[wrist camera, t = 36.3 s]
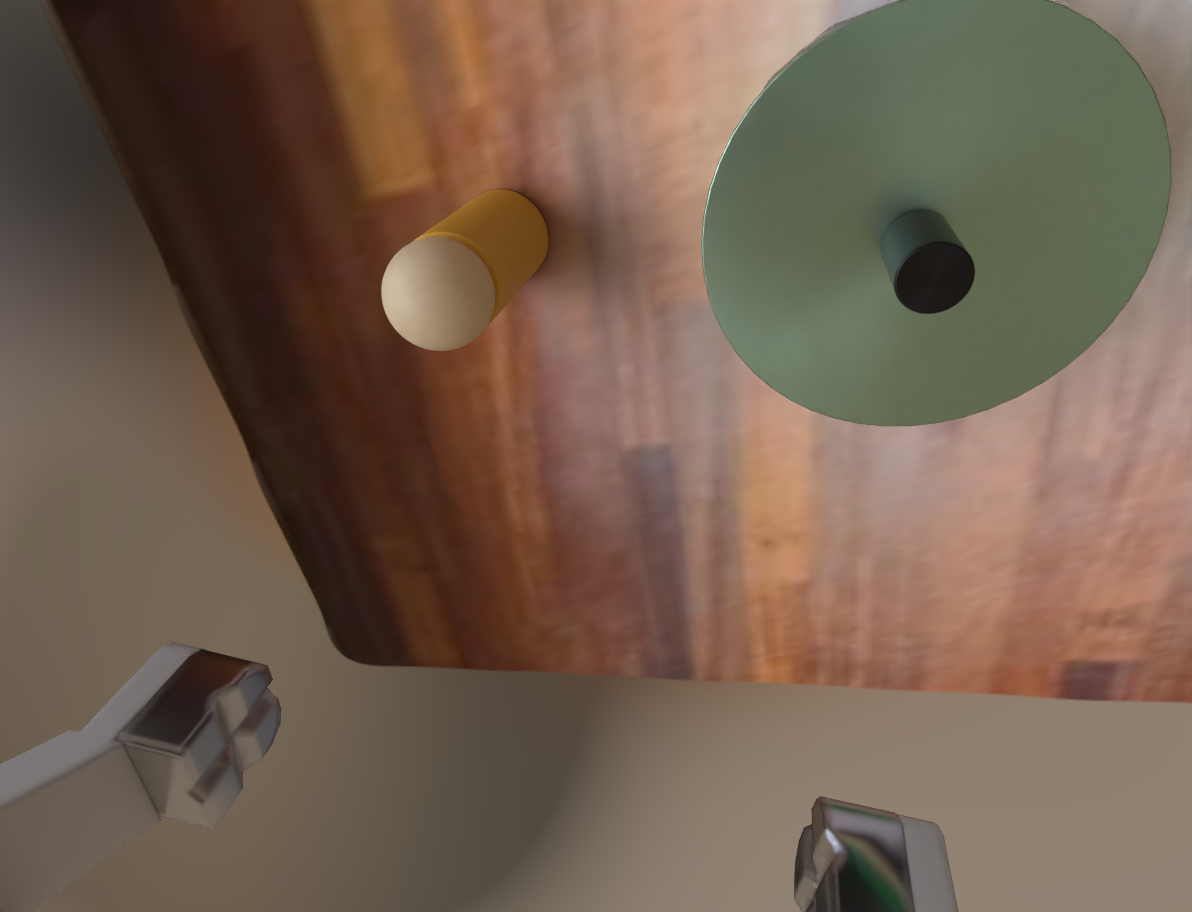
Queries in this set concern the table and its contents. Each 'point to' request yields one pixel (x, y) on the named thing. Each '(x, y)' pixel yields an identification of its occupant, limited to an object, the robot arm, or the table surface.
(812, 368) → the lid
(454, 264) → the toy
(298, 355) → the table surface
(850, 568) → the table surface
